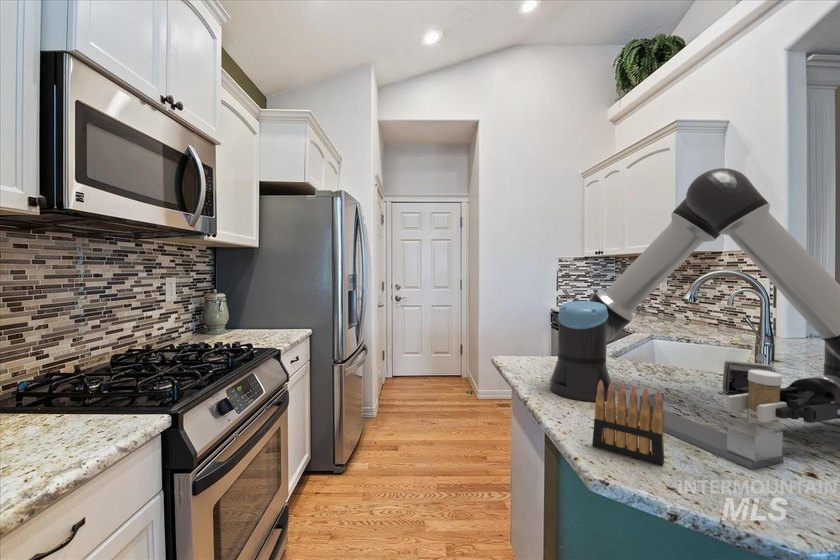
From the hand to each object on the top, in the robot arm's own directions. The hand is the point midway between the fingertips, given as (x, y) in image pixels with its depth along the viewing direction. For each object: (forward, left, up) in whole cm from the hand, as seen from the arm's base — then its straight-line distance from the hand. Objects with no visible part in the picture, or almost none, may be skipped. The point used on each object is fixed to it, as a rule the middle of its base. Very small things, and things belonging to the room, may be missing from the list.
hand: (744, 408), depth 67 cm
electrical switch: (+14, +36, -8) cm, 40 cm away
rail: (-7, +3, -7) cm, 11 cm away
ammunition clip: (-20, -11, -8) cm, 24 cm away
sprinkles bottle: (+4, +3, -7) cm, 9 cm away
